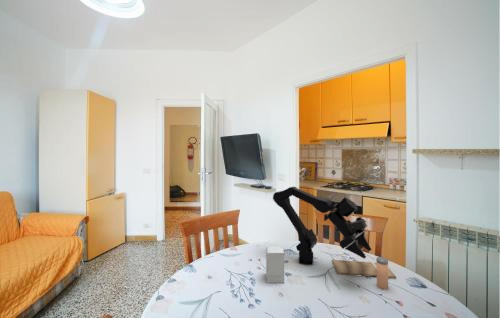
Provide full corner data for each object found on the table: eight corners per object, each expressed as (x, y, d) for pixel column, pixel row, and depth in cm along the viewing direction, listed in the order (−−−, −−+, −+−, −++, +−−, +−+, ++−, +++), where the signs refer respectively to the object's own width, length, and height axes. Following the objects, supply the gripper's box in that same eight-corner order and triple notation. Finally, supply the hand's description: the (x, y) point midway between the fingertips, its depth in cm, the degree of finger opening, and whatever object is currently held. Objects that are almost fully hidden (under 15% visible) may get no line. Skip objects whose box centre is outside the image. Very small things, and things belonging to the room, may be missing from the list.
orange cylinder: (378, 289, 86) (378, 261, 86) (375, 283, 90) (374, 256, 90) (390, 290, 86) (389, 262, 86) (385, 284, 90) (385, 257, 90)
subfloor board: (336, 274, 98) (336, 271, 98) (331, 261, 110) (331, 259, 110) (396, 278, 94) (396, 276, 94) (384, 265, 105) (384, 263, 105)
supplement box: (284, 283, 91) (284, 253, 91) (267, 283, 91) (266, 253, 91) (282, 273, 99) (282, 245, 99) (266, 273, 99) (265, 245, 99)
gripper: (347, 216, 88) (379, 251, 81) (359, 208, 102) (387, 237, 95) (327, 232, 93) (356, 266, 86) (342, 222, 107) (367, 250, 100)
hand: (368, 254), depth 91 cm, fingers open, 9 cm apart
